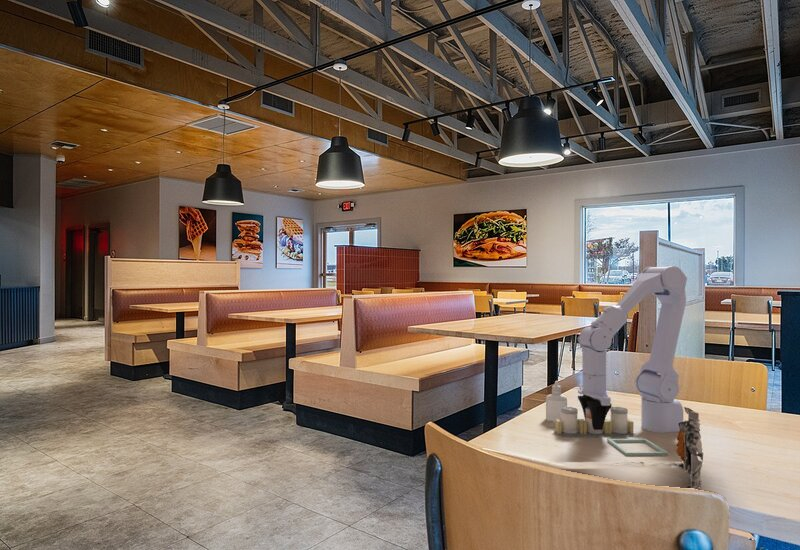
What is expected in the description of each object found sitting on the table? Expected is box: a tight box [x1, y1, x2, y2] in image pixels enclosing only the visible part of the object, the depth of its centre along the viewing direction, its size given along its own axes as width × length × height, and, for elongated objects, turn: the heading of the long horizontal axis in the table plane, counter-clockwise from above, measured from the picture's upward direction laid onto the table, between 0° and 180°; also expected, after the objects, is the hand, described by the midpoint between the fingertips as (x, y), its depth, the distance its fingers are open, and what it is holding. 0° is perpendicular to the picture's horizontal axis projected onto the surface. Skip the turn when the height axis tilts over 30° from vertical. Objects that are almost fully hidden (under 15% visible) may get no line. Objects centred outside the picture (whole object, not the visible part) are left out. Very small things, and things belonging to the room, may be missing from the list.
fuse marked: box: [586, 407, 603, 435], centre depth 128 cm, size 4×4×6 cm
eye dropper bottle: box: [545, 380, 568, 422], centre depth 139 cm, size 4×6×12 cm
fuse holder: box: [550, 418, 641, 438], centre depth 128 cm, size 20×8×4 cm, turn 91°
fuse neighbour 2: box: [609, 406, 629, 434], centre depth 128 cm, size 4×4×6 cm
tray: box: [606, 438, 669, 457], centre depth 116 cm, size 10×10×2 cm
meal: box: [675, 406, 704, 489], centre depth 101 cm, size 15×4×13 cm, turn 153°
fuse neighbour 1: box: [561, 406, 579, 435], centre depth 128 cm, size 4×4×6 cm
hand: (594, 426), depth 128 cm, fingers closed on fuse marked, 4 cm apart
